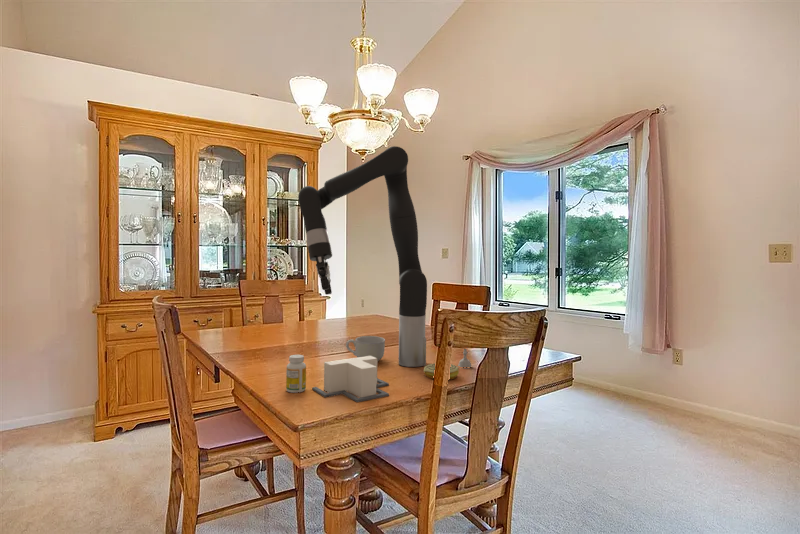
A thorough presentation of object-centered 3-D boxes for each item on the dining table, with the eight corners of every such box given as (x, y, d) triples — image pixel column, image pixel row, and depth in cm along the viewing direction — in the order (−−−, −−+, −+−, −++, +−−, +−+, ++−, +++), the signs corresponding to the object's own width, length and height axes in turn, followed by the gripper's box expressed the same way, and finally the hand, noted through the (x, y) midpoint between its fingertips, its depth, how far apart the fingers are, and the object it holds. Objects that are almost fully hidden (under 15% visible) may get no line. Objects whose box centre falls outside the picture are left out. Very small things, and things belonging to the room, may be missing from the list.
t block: (324, 390, 126) (324, 362, 125) (370, 382, 134) (370, 355, 134) (344, 402, 116) (344, 371, 115) (392, 392, 124) (392, 364, 124)
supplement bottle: (291, 394, 122) (291, 359, 121) (282, 389, 126) (283, 355, 125) (309, 390, 125) (309, 356, 125) (300, 386, 129) (300, 353, 129)
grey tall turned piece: (471, 370, 149) (472, 316, 149) (452, 367, 152) (452, 315, 152) (477, 365, 156) (478, 313, 155) (458, 363, 159) (459, 312, 158)
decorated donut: (434, 371, 149) (434, 359, 149) (463, 376, 143) (464, 364, 143) (418, 377, 140) (418, 365, 140) (448, 383, 134) (449, 371, 134)
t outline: (312, 389, 126) (312, 387, 126) (373, 378, 138) (374, 376, 138) (338, 406, 113) (338, 403, 113) (404, 392, 125) (404, 390, 125)
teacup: (386, 357, 166) (386, 336, 166) (382, 364, 155) (382, 341, 155) (349, 356, 167) (349, 335, 167) (343, 363, 156) (343, 340, 156)
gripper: (327, 236, 143) (336, 285, 139) (332, 248, 157) (340, 293, 153) (304, 240, 142) (312, 290, 139) (310, 252, 156) (318, 297, 152)
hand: (327, 291), depth 146 cm, fingers open, 8 cm apart
